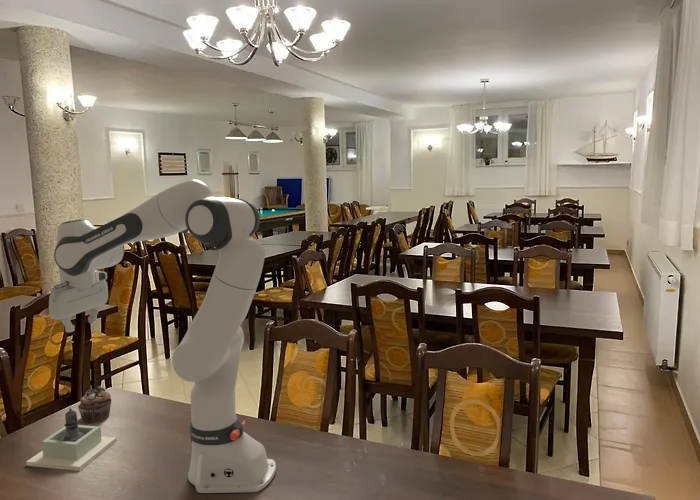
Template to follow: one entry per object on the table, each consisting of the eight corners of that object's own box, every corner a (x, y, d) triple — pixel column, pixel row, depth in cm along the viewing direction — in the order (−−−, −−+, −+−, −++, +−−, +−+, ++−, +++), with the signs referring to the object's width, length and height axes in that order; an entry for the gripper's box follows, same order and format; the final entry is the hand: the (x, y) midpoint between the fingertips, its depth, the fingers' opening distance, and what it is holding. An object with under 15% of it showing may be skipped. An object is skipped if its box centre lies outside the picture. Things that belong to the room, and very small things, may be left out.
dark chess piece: (75, 455, 146) (72, 413, 145) (56, 453, 148) (53, 411, 146) (90, 444, 152) (86, 404, 150) (72, 442, 153) (68, 402, 152)
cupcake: (101, 409, 178) (99, 380, 177) (118, 416, 173) (116, 386, 171) (73, 419, 171) (70, 389, 169) (89, 427, 165) (86, 396, 164)
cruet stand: (116, 441, 156) (115, 423, 155) (79, 470, 141) (78, 450, 140) (67, 437, 159) (66, 419, 158) (26, 465, 143) (24, 445, 143)
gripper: (61, 286, 137) (66, 338, 139) (110, 272, 157) (113, 318, 159) (39, 285, 138) (44, 337, 140) (91, 271, 158) (94, 317, 160)
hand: (81, 326), depth 150 cm, fingers open, 8 cm apart
